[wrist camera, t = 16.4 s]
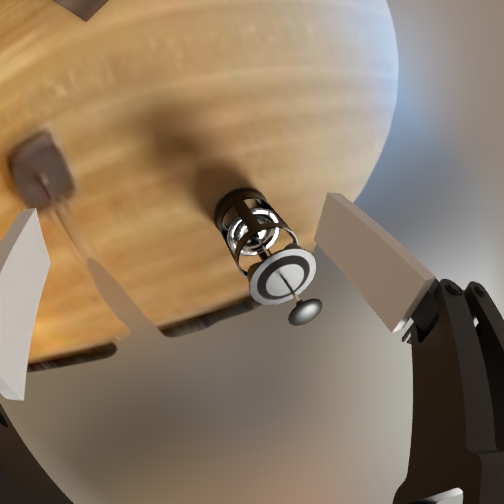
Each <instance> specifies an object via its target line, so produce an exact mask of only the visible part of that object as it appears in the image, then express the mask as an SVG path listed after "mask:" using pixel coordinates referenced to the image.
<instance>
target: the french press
mask: <svg viewBox="0 0 504 504" xmlns="http://www.w3.org/2000/svg"><path fill="white" fill-rule="evenodd" d="M245 199H256V200H257V201H258V202H259V203H260V206H261V208H251V209H249V208H248V206H247V205H246V203H245V202H244V201H243V200H245ZM232 206H233V207H234V209H235V210H236V212H237V213H238V216H237V217H236V218H235V219H234V220H233V221H232V223H231V225H230V227H229V229H228V228H227V227H226V226H225V225H224V223H223V218H224V216H225V214H226V212H227V211H228V210H229V209H230V208H231V207H232ZM214 220H215V224H216V226H217V228H218V229H219V231H220V232H221V234H222V236H223V238H224V240H225V242H226V244H227V246H228V248H229V250H230V252H231V254H232V256H233V259H234V261H235V263H236V265H237V267H238V269H239V271H240V272H241V274H242V275H243V276H245V277H246V278H248V281H249V291H250V293H251V295H252V297H253V298H254V299H255V300H256V301H257V302H259V303H262V304H268V305H274V304H279V303H283V302H286V301H288V300H290V299H292V298H295V299H296V301H297V303H296V305H297V306H296V307H295V308H294V309H293V310H292V311H291V313H290V315H289V318H288V320H289V323H290V324H292V325H294V326H298V325H303V324H306V323H308V322H310V321H311V320H313V319H314V318H315V317H316V316H317V315H318V314H319V313H320V311H321V309H322V302H321V301H320V300H319V299H309V300H306V301H304V302H303V300H299V298H298V297H297V295H298V294H300V293H301V292H302V291H303V290H304V289H305V288H306V287H307V286H308V285H309V283H310V282H311V280H312V278H313V276H314V274H315V270H316V262H315V259H314V257H313V256H312V255H311V253H310V252H308V251H307V250H305V249H302V248H301V247H300V246H299V244H298V239H297V237H296V235H295V234H294V233H293V232H292V230H291V229H290V228H289V227H288V226H287V224H286V223H285V222H284V221H283V220H282V219H281V217H280V216H279V215H278V214H277V213H276V212H275V210H274V209H273V208H272V207H271V206H270V205H269V204H268V202H267V200H266V199H265V197H264V196H263V195H262V194H261V193H260V192H259V191H257V190H255V189H252V188H239V189H235V190H233V191H231V192H229V193H228V194H226V195H225V196H224V197H223V198H222V199H221V200H220V201H219V203H218V205H217V207H216V209H215V213H214ZM280 228H282V229H285V230H286V231H287V232H288V233H289V235H290V236H291V237H292V238H293V243H291V244H289V245H287V246H286V247H285V248H284V249H283V250H280V251H277V252H275V253H273V254H271V252H270V251H269V248H270V247H271V246H272V245H273V244H274V242H275V241H276V239H277V238H278V235H279V233H280ZM232 250H233V251H234V252H235V253H233V251H232ZM257 254H258V255H259V257H260V258H261V260H262V261H261V262H258V263H255V264H253V265H252V266H250V268H249V269H248V272H245V271H244V270H242V269H241V268H240V265H239V255H243V256H253V255H257Z"/></svg>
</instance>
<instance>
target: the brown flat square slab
mask: <svg viewBox="0 0 504 504" xmlns="http://www.w3.org/2000/svg"><path fill="white" fill-rule="evenodd" d="M54 1H55V2H57V3H58V4H60V5H62V6H63V7H65V8H66V9H68V10H69V11H71V12H72V13H74V14H75V15H77V16H78V17H80V18H81V19H83V20H84V21H85V22H87V21H88V20H89V19H90V18H91V17H92V16H93V15H94V14H95V13H96V12H97V11H98V10H99V9H100V8H101V7H102V6H103V5H104V4H105V3H106V2H107V1H108V0H54Z"/></svg>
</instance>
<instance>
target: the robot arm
mask: <svg viewBox="0 0 504 504" xmlns="http://www.w3.org/2000/svg"><path fill="white" fill-rule="evenodd" d="M314 240H315V242H316V243H317V244H318V245H319V246H320V247H321V248H322V250H323V251H324V252H325V253H326V254H327V255H328V256H329V257H330V259H331V260H332V261H333V262H334V263H335V264H336V266H337V267H338V268H339V269H340V270H341V271H342V273H343V274H344V275H345V276H346V277H347V278H348V280H349V281H350V282H351V283H352V284H353V285H354V287H355V288H356V289H357V290H358V292H359V293H360V294H361V295H362V296H363V298H364V299H365V300H366V301H367V303H368V304H369V305H370V306H371V308H372V309H373V310H374V311H375V312H376V314H377V315H378V316H379V317H380V319H381V320H382V321H383V323H384V324H385V325H386V326H387V328H388V329H389V330H390V331H391V332H392V333H393V332H395V331H397V330H400V329H401V328H403V327H404V326H405V324H406V323H407V322H408V320H409V319H410V317H411V318H412V320H413V321H414V322H413V324H412V325H411V326H410V328H409V329H408V330H407V332H406V333H405V334H404V336H403V337H402V342H404V341H405V339H406V338H407V337H408V336H411V337H410V338H409V340H408V341H407V343H409V344H411V345H412V363H413V420H412V421H413V422H412V436H411V448H410V457H409V466H408V473H407V477H406V479H405V481H404V482H403V483H402V485H401V486H400V487H399V488H398V490H397V492H396V493H395V496H394V500H393V504H436V503H437V502H439V501H441V500H444V499H447V498H450V497H453V496H456V495H459V494H462V493H463V504H504V320H503V318H502V316H501V314H500V313H499V311H498V309H497V307H496V306H495V304H494V302H493V301H492V299H491V297H490V296H489V294H488V293H487V291H486V290H485V288H484V287H483V286H482V285H481V284H479V283H476V282H473V281H472V282H470V283H469V285H468V286H467V288H466V289H465V290H462V289H461V288H460V287H459V286H458V285H457V284H455V283H454V282H452V281H451V280H448V279H442V280H441V281H440V282H439V281H438V280H437V279H436V277H435V276H434V275H433V274H432V273H431V272H430V271H429V270H428V269H427V268H426V267H425V266H424V265H423V264H422V263H421V262H420V261H419V260H418V259H417V258H416V257H415V256H414V255H413V254H411V253H410V252H409V251H408V250H407V249H406V248H405V247H404V246H403V245H401V244H400V243H399V242H398V241H397V240H396V239H395V238H394V237H393V236H391V235H390V234H389V233H388V232H387V231H386V230H384V229H383V228H382V227H381V226H380V225H379V224H377V223H376V222H375V221H374V220H373V219H371V218H370V217H369V216H368V215H366V214H365V213H364V212H363V211H362V210H360V209H359V208H358V207H357V206H355V205H354V204H353V203H352V202H350V201H349V200H348V199H347V198H345V197H344V196H343V195H341V194H340V193H327V196H326V200H325V203H324V207H323V210H322V214H321V217H320V221H319V224H318V227H317V231H316V234H315V237H314ZM50 264H51V262H50V259H49V256H48V252H47V249H46V246H45V242H44V239H43V235H42V231H41V228H40V224H39V219H38V215H37V211H36V208H33V209H26V210H21V212H20V213H19V214H18V216H17V217H16V219H15V220H14V222H13V224H12V225H11V227H10V228H9V230H8V231H7V233H6V235H5V236H4V238H3V240H2V241H1V243H0V393H1V394H2V395H3V396H4V397H5V398H6V399H13V400H24V391H25V390H24V389H25V380H26V371H27V363H28V356H29V349H30V343H31V338H32V333H33V328H34V323H35V318H36V314H37V310H38V306H39V302H40V298H41V294H42V290H43V287H44V283H45V280H46V277H47V274H48V270H49V267H50ZM475 318H477V320H478V322H479V323H478V324H477V326H476V327H475V326H474V322H473V321H474V319H475ZM0 504H74V503H73V502H72V501H71V500H70V499H69V498H68V497H67V496H66V495H65V494H64V493H63V492H62V491H61V490H60V488H58V486H57V485H56V484H55V483H54V482H53V480H52V479H51V478H50V477H49V476H48V475H47V473H46V472H45V471H44V469H43V468H42V467H41V466H40V464H39V463H38V462H37V461H36V459H35V458H34V456H33V455H32V454H31V452H30V451H29V449H28V448H27V446H26V445H25V444H24V442H23V441H22V439H21V437H20V436H19V434H18V433H17V431H16V430H15V428H14V427H13V425H12V423H11V421H10V420H9V418H8V416H7V414H6V413H5V411H4V409H3V407H2V405H1V404H0Z"/></svg>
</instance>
